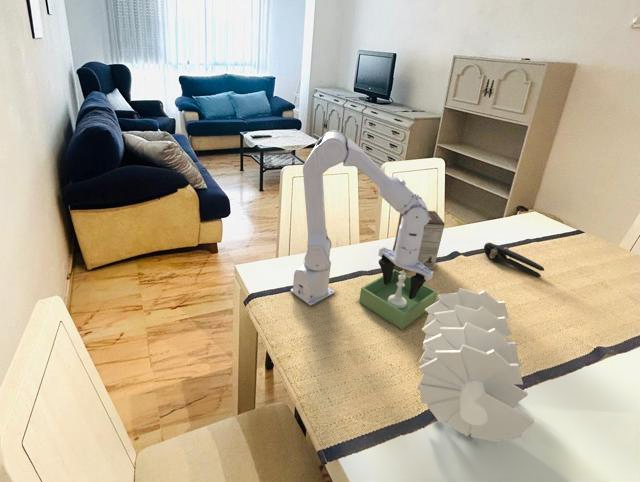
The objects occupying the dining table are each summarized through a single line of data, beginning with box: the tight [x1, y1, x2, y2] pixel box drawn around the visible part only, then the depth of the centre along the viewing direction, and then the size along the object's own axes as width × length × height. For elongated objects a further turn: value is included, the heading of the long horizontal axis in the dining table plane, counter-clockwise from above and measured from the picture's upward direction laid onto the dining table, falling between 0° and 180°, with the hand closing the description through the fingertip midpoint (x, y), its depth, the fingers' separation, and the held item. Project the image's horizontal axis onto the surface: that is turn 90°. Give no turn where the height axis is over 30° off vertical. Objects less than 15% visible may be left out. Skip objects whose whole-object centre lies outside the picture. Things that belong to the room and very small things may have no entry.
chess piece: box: [388, 269, 408, 308], centre depth 100 cm, size 5×5×10 cm
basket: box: [358, 269, 438, 330], centre depth 102 cm, size 15×13×4 cm
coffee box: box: [418, 210, 446, 270], centre depth 120 cm, size 9×6×16 cm
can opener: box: [483, 242, 545, 278], centre depth 122 cm, size 18×7×6 cm, turn 41°
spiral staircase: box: [416, 287, 536, 443], centre depth 74 cm, size 18×18×25 cm
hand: (399, 290), depth 101 cm, fingers open, 7 cm apart
